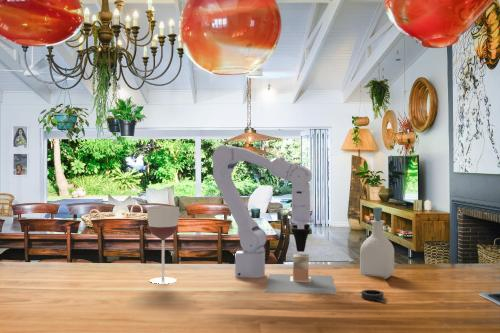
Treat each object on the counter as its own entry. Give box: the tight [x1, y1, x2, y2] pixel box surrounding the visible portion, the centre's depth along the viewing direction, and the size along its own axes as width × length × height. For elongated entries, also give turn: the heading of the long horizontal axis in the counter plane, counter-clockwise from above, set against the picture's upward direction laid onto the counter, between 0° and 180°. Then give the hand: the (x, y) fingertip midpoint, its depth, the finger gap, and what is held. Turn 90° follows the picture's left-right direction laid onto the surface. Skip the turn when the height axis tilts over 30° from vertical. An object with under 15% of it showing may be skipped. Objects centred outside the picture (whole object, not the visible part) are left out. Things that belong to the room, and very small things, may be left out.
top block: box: [292, 253, 310, 270], centre depth 156 cm, size 5×5×4 cm
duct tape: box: [358, 289, 388, 304], centre depth 136 cm, size 8×10×3 cm
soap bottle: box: [359, 206, 395, 280], centre depth 166 cm, size 10×10×23 cm
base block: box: [292, 268, 309, 281], centre depth 156 cm, size 5×5×4 cm
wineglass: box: [146, 205, 180, 285], centre depth 159 cm, size 9×10×23 cm
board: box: [264, 273, 338, 295], centre depth 152 cm, size 20×22×1 cm
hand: (300, 249), depth 157 cm, fingers open, 7 cm apart
